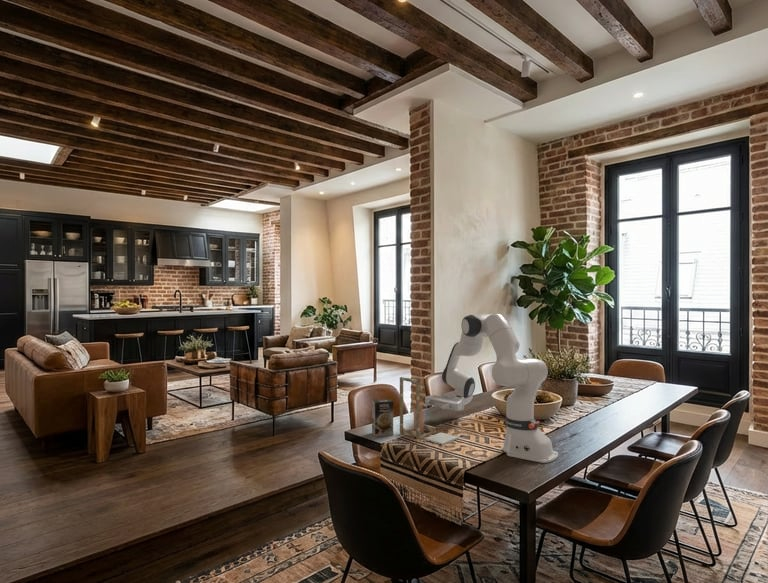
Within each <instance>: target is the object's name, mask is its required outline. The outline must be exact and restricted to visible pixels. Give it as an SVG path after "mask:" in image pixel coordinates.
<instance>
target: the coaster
mask: <svg viewBox="0 0 768 583" xmlns="http://www.w3.org/2000/svg"><path fill="white" fill-rule="evenodd" d="M458 439H459V437H458V436H455V435H452V434H450V433H445V432H438V433H434V434H432V435H429V436H426V437H424V441H426V440H427V442H430V441H431V443H433V442H434V444H437V443H438V444H437V445H440V444H441V445H440V446H444V444H445V445H447V444H449V443H451V442H454V441H457V440H458Z"/></svg>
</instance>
